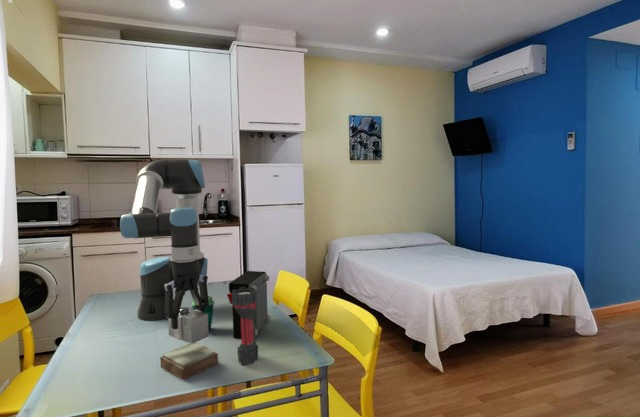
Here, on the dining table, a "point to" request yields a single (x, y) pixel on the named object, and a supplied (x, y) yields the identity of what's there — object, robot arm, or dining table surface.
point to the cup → (207, 311)
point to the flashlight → (246, 323)
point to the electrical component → (260, 286)
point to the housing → (191, 325)
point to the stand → (189, 360)
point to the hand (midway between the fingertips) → (188, 334)
